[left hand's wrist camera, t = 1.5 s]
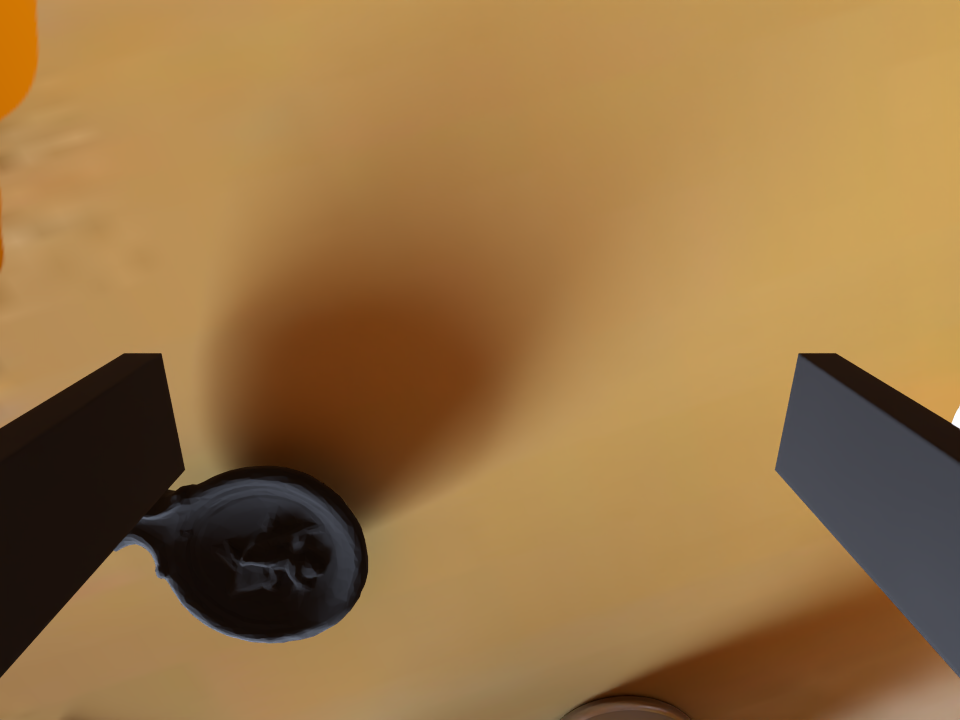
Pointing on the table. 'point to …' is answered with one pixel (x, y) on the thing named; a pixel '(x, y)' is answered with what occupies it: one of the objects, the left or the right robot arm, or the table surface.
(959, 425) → the jar
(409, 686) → the table surface
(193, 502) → the oil lamp
